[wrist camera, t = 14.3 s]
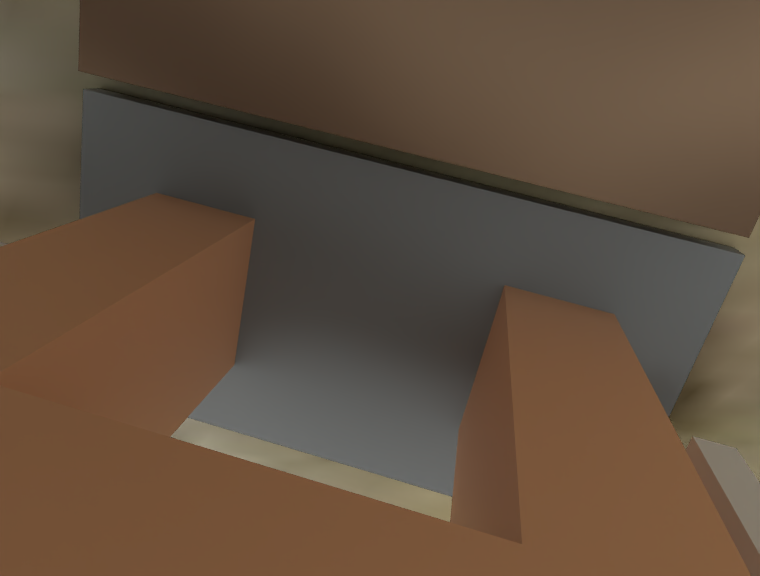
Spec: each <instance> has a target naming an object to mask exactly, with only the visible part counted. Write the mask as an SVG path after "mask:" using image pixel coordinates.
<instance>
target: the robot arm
mask: <svg viewBox="0 0 760 576" xmlns="http://www.w3.org/2000/svg"><path fill="white" fill-rule="evenodd" d="M4 245H7V244H6V243H2V242H0V247H1V246H4ZM686 452H687V454H688V456H689V458H690V460H691V461H692V463H693V465H694V467H695V469H696V471H697V473H698V475H699V477H700V479H701V481H702V482H703V484H704V486H705V488H706V490H707V492H708V494H709V496H710V498H711V500H712V502H713V504H714V505H715V507H716V509H717V511H718V513H719V515H720V517H721V519H722V521H723V523H724V525H725V526H726V528H727V530H728V532H729V534H730V536H731V538H732V540H733V542H734V544H735V546H736V547H737V549H738V551H739V553H740V555H741V557H742V559H743V561H744V563H745V565H746V567H747V569H748V570H749V572H750V574H751V576H760V483H759V481H758V480H757V478H756V477H755V475H754V474H753V472H752V471H751V469H750V467H749V466H748V464H747V463H746V461H745V460H744V458H743V457H742V455H741V454H740V452H739V451H738V449H737V448H734V447H730V446H727V445H723V444H720V443H716V442H712V441H709V440H705V439H702V438H698V437H695V436H693V437H692V439H691V441H690V443H689V445H688V447H687V449H686Z"/></svg>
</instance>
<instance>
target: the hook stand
mask: <svg viewBox="0 0 760 576" xmlns="http://www.w3.org/2000/svg"><path fill="white" fill-rule="evenodd" d="M78 71H81V72H85V73H89V74H93V75H97V76H101V77H105V78H109V79H113V80H117V81H121V82H125V83H129V84H133V85H137V86H141V87H145V88H149V89H153V90H157V91H161V92H165V93H169V94H173V95H177V96H181V97H185V98H189V99H193V100H197V101H202V102H206V103H210V104H214V105H218V106H222V107H226V108H230V109H234V110H238V111H242V112H246V113H250V114H254V115H258V116H262V117H266V118H270V119H274V120H278V121H282V122H286V123H290V124H294V125H298V126H302V127H306V128H310V129H314V130H318V131H322V132H326V133H330V134H334V135H338V136H342V137H346V138H350V139H354V140H358V141H362V142H366V143H370V144H374V145H378V146H382V147H386V148H390V149H394V150H398V151H402V152H406V153H410V154H414V155H418V156H422V157H426V158H430V159H434V160H439V161H443V162H447V163H451V164H455V165H459V166H463V167H467V168H471V169H475V170H479V171H483V172H487V173H491V174H495V175H499V176H503V177H507V178H511V179H515V180H519V181H523V182H527V183H531V184H535V185H539V186H543V187H547V188H551V189H555V190H559V191H563V192H567V193H571V194H575V195H579V196H583V197H587V198H591V199H595V200H599V201H603V202H607V203H611V204H615V205H619V206H623V207H627V208H631V209H635V210H639V211H643V212H647V213H651V214H655V215H659V216H663V217H667V218H671V219H676V220H680V221H684V222H688V223H692V224H696V225H700V226H704V227H708V228H712V229H716V230H720V231H724V232H728V233H732V234H736V235H740V236H744V237H748V238H749V236H750V234H751V232H752V230H753V228H754V226H755V224H756V222H757V219H758V217H759V215H760V0H80V25H79V65H78Z"/></svg>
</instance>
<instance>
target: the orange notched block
mask: <svg viewBox="0 0 760 576" xmlns="http://www.w3.org/2000/svg"><path fill="white" fill-rule="evenodd" d="M254 224H255V219H254V218H250V217H246V216H242V215H238V214H235V213H231V212H227V211H223V210H220V209H216V208H212V207H208V206H205V205H201V204H197V203H193V202H189V201H186V200H182V199H178V198H174V197H171V196H167V195H163V194H159V193H155V194H152V195H149V196H146V197H143V198H140V199H137V200H134V201H132V202H129V203H126V204H123V205H120V206H117V207H114V208H111V209H108V210H105V211H103V212H100V213H97V214H94V215H91V216H88V217H85V218H82V219H79V220H76V221H74V222H71V223H68V224H65V225H62V226H59V227H56V228H53V229H50V230H48V231H45V232H42V233H39V234H36V235H33V236H30V237H27V238H24V239H21V240H19V241H16V242H13V243H10V244H7V245H4V246H1V247H0V576H751V574H750V572H749V570H748V569H747V567H746V565H745V563H744V561H743V559H742V557H741V555H740V553H739V551H738V549H737V547H736V546H735V544H734V542H733V540H732V538H731V536H730V534H729V532H728V530H727V528H726V526H725V525H724V523H723V521H722V519H721V517H720V515H719V513H718V511H717V509H716V507H715V505H714V504H713V502H712V500H711V498H710V496H709V494H708V492H707V490H706V488H705V486H704V484H703V482H702V481H701V479H700V477H699V475H698V473H697V471H696V469H695V467H694V465H693V463H692V461H691V460H690V458H689V456H688V454H687V452H686V450H685V448H684V446H683V444H682V442H681V440H680V439H679V437H678V435H677V433H676V431H675V429H674V427H673V425H672V423H671V421H670V419H669V418H668V416H667V414H666V412H665V410H664V408H663V406H662V404H661V402H660V400H659V398H658V396H657V395H656V393H655V391H654V389H653V387H652V385H651V383H650V381H649V379H648V377H647V375H646V374H645V372H644V370H643V368H642V366H641V364H640V362H639V360H638V358H637V356H636V354H635V353H634V351H633V349H632V347H631V345H630V343H629V341H628V339H627V337H626V335H625V333H624V331H623V330H622V328H621V326H620V324H619V322H618V320H617V318H616V316H615V314H612V313H608V312H604V311H600V310H597V309H593V308H589V307H585V306H581V305H578V304H574V303H570V302H566V301H563V300H559V299H555V298H551V297H548V296H544V295H540V294H536V293H532V292H529V291H525V290H521V289H517V288H514V287H510V286H506V285H505V286H504V289H503V292H502V295H501V298H500V301H499V304H498V308H497V311H496V314H495V317H494V320H493V323H492V326H491V330H490V333H489V336H488V339H487V342H486V345H485V348H484V352H483V355H482V358H481V361H480V364H479V367H478V370H477V374H476V377H475V380H474V383H473V386H472V389H471V392H470V396H469V399H468V402H467V405H466V408H465V411H464V414H463V417H462V421H461V424H460V427H459V431H458V442H457V453H456V464H455V475H454V486H453V497H452V508H451V519H450V522H447V521H444V520H441V519H438V518H434V517H431V516H428V515H424V514H421V513H418V512H414V511H411V510H408V509H405V508H401V507H398V506H395V505H391V504H388V503H385V502H382V501H378V500H375V499H372V498H368V497H365V496H362V495H359V494H355V493H352V492H349V491H345V490H342V489H339V488H335V487H332V486H329V485H326V484H322V483H319V482H316V481H312V480H309V479H306V478H303V477H299V476H296V475H293V474H289V473H286V472H283V471H280V470H276V469H273V468H270V467H266V466H263V465H260V464H257V463H253V462H250V461H247V460H243V459H240V458H237V457H233V456H230V455H227V454H224V453H220V452H217V451H214V450H210V449H207V448H204V447H201V446H197V445H194V444H191V443H187V442H184V441H181V440H178V439H174V438H171V437H170V436H171V435H172V434H173V433H174V432H175V431H176V430H177V429H178V427H179V426H180V425H181V424H182V423H183V422H184V421H185V420H186V418H187V417H188V416H189V415H190V414H191V413H192V412H193V411H194V409H195V408H196V407H197V406H198V405H199V404H200V403H201V402H202V401H203V399H204V398H205V397H206V396H207V395H208V394H209V393H210V392H211V390H212V389H213V388H214V387H215V386H216V385H217V384H218V383H219V381H220V380H221V379H222V378H223V377H224V376H225V375H226V374H227V373H228V371H229V370H230V369H231V368H232V367H233V366H234V364H235V357H236V350H237V343H238V336H239V329H240V322H241V315H242V308H243V301H244V294H245V287H246V280H247V273H248V266H249V259H250V252H251V245H252V238H253V231H254Z"/></svg>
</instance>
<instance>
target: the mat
mask: <svg viewBox="0 0 760 576" xmlns="http://www.w3.org/2000/svg"><path fill="white" fill-rule="evenodd" d="M155 193H159V194H163V195H167V196H171V197H174V198H178V199H182V200H186V201H189V202H193V203H197V204H201V205H205V206H208V207H212V208H216V209H220V210H223V211H227V212H231V213H235V214H238V215H242V216H246V217H250V218H254V219H255V224H254V231H253V238H252V245H251V252H250V259H249V266H248V273H247V280H246V287H245V294H244V301H243V308H242V315H241V322H240V329H239V336H238V343H237V350H236V357H235V364H234V366H233V367H232V368H231V369H230V370H229V371H228V373H227V374H226V375H225V376H224V377H223V378H222V379H221V380H220V381H219V383H218V384H217V385H216V386H215V387H214V388H213V389H212V390H211V392H210V393H209V394H208V395H207V396H206V397H205V398H204V399H203V401H202V402H201V403H200V404H199V405H198V406H197V407H196V408H195V409H194V411H193V412H192V413H191V414H190V415H189V416H188V418H191V419H195V420H198V421H201V422H205V423H208V424H211V425H215V426H218V427H221V428H225V429H228V430H231V431H235V432H238V433H241V434H245V435H248V436H251V437H255V438H258V439H261V440H265V441H268V442H271V443H275V444H278V445H281V446H285V447H288V448H291V449H295V450H298V451H301V452H305V453H308V454H311V455H315V456H318V457H321V458H325V459H328V460H331V461H335V462H338V463H341V464H345V465H348V466H351V467H355V468H358V469H361V470H365V471H368V472H371V473H375V474H378V475H381V476H385V477H388V478H391V479H395V480H398V481H401V482H405V483H408V484H411V485H415V486H418V487H421V488H425V489H428V490H431V491H435V492H438V493H441V494H445V495H448V496H451V497H453V486H454V475H455V464H456V453H457V442H458V431H459V427H460V424H461V421H462V417H463V414H464V411H465V408H466V405H467V402H468V399H469V396H470V392H471V389H472V386H473V383H474V380H475V377H476V374H477V370H478V367H479V364H480V361H481V358H482V355H483V352H484V348H485V345H486V342H487V339H488V336H489V333H490V330H491V326H492V323H493V320H494V317H495V314H496V311H497V308H498V304H499V301H500V298H501V295H502V292H503V289H504V286H505V285H506V286H510V287H514V288H517V289H521V290H525V291H529V292H532V293H536V294H540V295H544V296H548V297H551V298H555V299H559V300H563V301H566V302H570V303H574V304H578V305H581V306H585V307H589V308H593V309H597V310H600V311H604V312H608V313H612V314H615V316H616V318H617V320H618V322H619V324H620V326H621V328H622V330H623V331H624V333H625V335H626V337H627V339H628V341H629V343H630V345H631V347H632V349H633V351H634V353H635V354H636V356H637V358H638V360H639V362H640V364H641V366H642V368H643V370H644V372H645V374H646V375H647V377H648V379H649V381H650V383H651V385H652V387H653V389H654V391H655V393H656V395H657V396H658V398H659V400H660V402H661V404H662V406H663V408H664V410H665V412H666V414H667V416H668V418H669V416H670V413H671V411H672V409H673V407H674V405H675V403H676V401H677V399H678V397H679V394H680V392H681V390H682V388H683V386H684V384H685V382H686V380H687V378H688V375H689V373H690V371H691V369H692V367H693V365H694V363H695V361H696V358H697V356H698V354H699V352H700V350H701V348H702V346H703V344H704V342H705V339H706V337H707V335H708V333H709V331H710V329H711V327H712V325H713V322H714V320H715V318H716V316H717V314H718V312H719V310H720V308H721V306H722V303H723V301H724V299H725V297H726V295H727V293H728V291H729V289H730V287H731V284H732V282H733V280H734V278H735V276H736V274H737V272H738V270H739V267H740V265H741V263H742V261H743V259H744V257H745V255H744V254H742V253H741V252H739V251H738V250H737V249H735V248H733V247H729V246H725V245H721V244H717V243H713V242H709V241H705V240H701V239H697V238H693V237H689V236H685V235H681V234H677V233H673V232H669V231H665V230H661V229H657V228H653V227H649V226H645V225H641V224H637V223H633V222H629V221H625V220H621V219H617V218H613V217H610V216H606V215H602V214H598V213H594V212H590V211H586V210H582V209H578V208H574V207H570V206H566V205H562V204H558V203H554V202H550V201H546V200H542V199H538V198H534V197H530V196H526V195H522V194H518V193H514V192H510V191H506V190H502V189H498V188H494V187H490V186H486V185H482V184H478V183H474V182H470V181H466V180H462V179H458V178H454V177H450V176H446V175H442V174H438V173H434V172H430V171H426V170H422V169H418V168H414V167H410V166H406V165H402V164H398V163H394V162H390V161H386V160H382V159H378V158H374V157H370V156H366V155H362V154H358V153H354V152H350V151H347V150H343V149H339V148H335V147H331V146H327V145H323V144H319V143H315V142H311V141H307V140H303V139H299V138H295V137H291V136H287V135H283V134H279V133H275V132H271V131H267V130H263V129H259V128H255V127H251V126H247V125H243V124H239V123H235V122H231V121H227V120H223V119H219V118H215V117H211V116H207V115H203V114H199V113H195V112H191V111H187V110H183V109H179V108H175V107H171V106H167V105H163V104H159V103H155V102H151V101H147V100H143V99H139V98H135V97H131V96H127V95H123V94H119V93H115V92H111V91H107V90H103V89H99V88H98V89H83V115H82V150H81V185H80V219H82V218H85V217H88V216H91V215H94V214H97V213H100V212H103V211H105V210H108V209H111V208H114V207H117V206H120V205H123V204H126V203H129V202H132V201H134V200H137V199H140V198H143V197H146V196H149V195H152V194H155Z"/></svg>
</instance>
